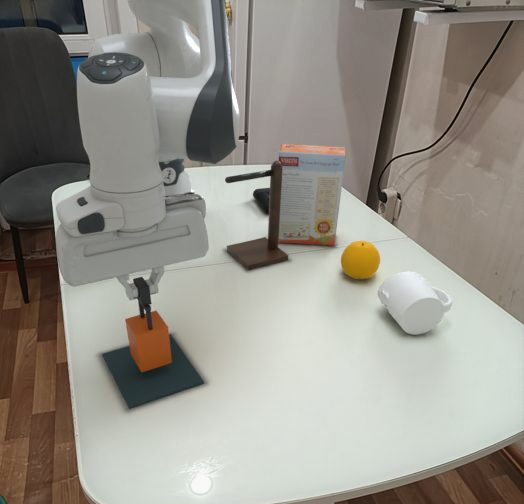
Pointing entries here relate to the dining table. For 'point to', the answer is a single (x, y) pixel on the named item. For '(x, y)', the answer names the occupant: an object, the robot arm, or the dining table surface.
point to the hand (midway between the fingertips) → (142, 294)
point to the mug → (414, 302)
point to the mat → (151, 375)
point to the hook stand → (263, 248)
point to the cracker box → (310, 193)
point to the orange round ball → (360, 260)
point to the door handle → (263, 198)
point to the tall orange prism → (148, 333)
